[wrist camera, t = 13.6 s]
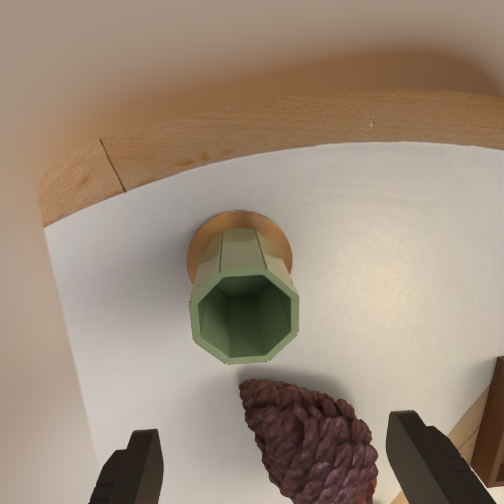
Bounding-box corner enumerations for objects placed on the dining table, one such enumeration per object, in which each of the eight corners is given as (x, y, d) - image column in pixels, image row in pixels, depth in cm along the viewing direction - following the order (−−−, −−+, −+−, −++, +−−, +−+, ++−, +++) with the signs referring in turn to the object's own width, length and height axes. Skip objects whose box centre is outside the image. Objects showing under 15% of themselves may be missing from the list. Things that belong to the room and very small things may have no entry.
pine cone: (203, 410, 33) (216, 442, 23) (266, 336, 36) (300, 339, 27) (326, 530, 33) (388, 610, 24) (377, 446, 36) (450, 487, 27)
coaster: (291, 207, 27) (292, 209, 26) (291, 304, 30) (292, 307, 29) (182, 213, 26) (181, 214, 26) (193, 310, 29) (192, 313, 29)
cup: (277, 225, 27) (299, 264, 18) (278, 295, 29) (298, 359, 20) (199, 229, 26) (184, 271, 18) (206, 299, 28) (195, 367, 20)
